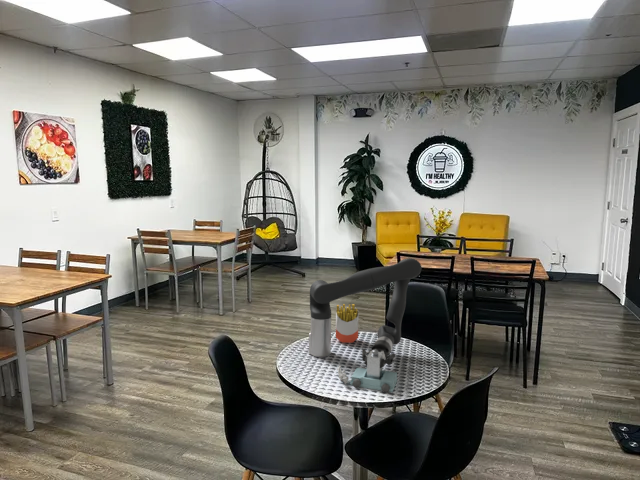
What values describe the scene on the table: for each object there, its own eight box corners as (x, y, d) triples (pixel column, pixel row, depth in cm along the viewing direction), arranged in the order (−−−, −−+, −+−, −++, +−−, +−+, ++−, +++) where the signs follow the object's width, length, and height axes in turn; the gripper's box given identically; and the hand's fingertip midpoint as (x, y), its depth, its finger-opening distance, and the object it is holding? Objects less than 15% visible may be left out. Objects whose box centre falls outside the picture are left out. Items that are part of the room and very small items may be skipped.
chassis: (350, 386, 165) (350, 377, 164) (358, 373, 177) (358, 364, 176) (391, 393, 160) (392, 384, 159) (397, 379, 171) (397, 370, 171)
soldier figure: (350, 375, 177) (359, 379, 165) (342, 385, 175) (351, 389, 164) (337, 362, 176) (344, 365, 165) (329, 371, 175) (336, 375, 163)
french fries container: (358, 343, 209) (359, 306, 207) (335, 342, 210) (336, 306, 207) (357, 339, 214) (358, 304, 211) (335, 339, 214) (336, 303, 212)
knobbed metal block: (366, 379, 166) (367, 352, 164) (370, 372, 171) (370, 346, 170) (379, 381, 164) (379, 354, 163) (382, 374, 170) (383, 348, 168)
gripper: (365, 337, 182) (355, 352, 166) (399, 341, 178) (392, 358, 162) (365, 354, 183) (355, 371, 167) (399, 359, 179) (392, 377, 163)
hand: (373, 364), depth 165 cm, fingers closed on knobbed metal block, 4 cm apart
